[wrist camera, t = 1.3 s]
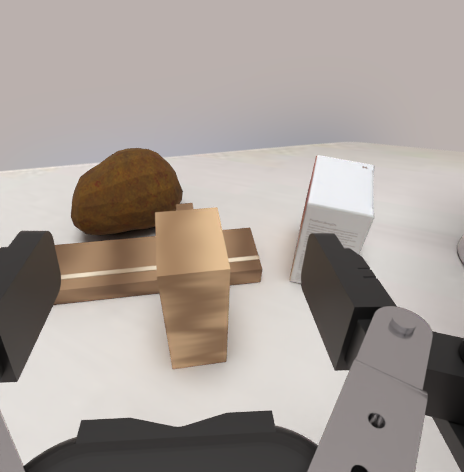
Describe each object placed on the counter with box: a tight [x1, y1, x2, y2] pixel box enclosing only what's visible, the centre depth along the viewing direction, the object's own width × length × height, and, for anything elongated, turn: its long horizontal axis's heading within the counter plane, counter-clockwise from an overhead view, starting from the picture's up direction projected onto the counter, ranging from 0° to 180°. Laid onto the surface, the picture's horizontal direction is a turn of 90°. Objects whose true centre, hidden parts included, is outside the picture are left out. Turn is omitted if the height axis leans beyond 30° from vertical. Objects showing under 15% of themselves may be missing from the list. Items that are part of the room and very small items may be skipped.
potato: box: [71, 148, 183, 235], centre depth 41 cm, size 8×12×9 cm
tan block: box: [155, 203, 230, 369], centre depth 31 cm, size 4×12×12 cm, turn 9°
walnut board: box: [53, 228, 262, 305], centre depth 37 cm, size 26×6×2 cm, turn 99°
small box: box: [290, 155, 374, 283], centre depth 36 cm, size 8×6×10 cm
